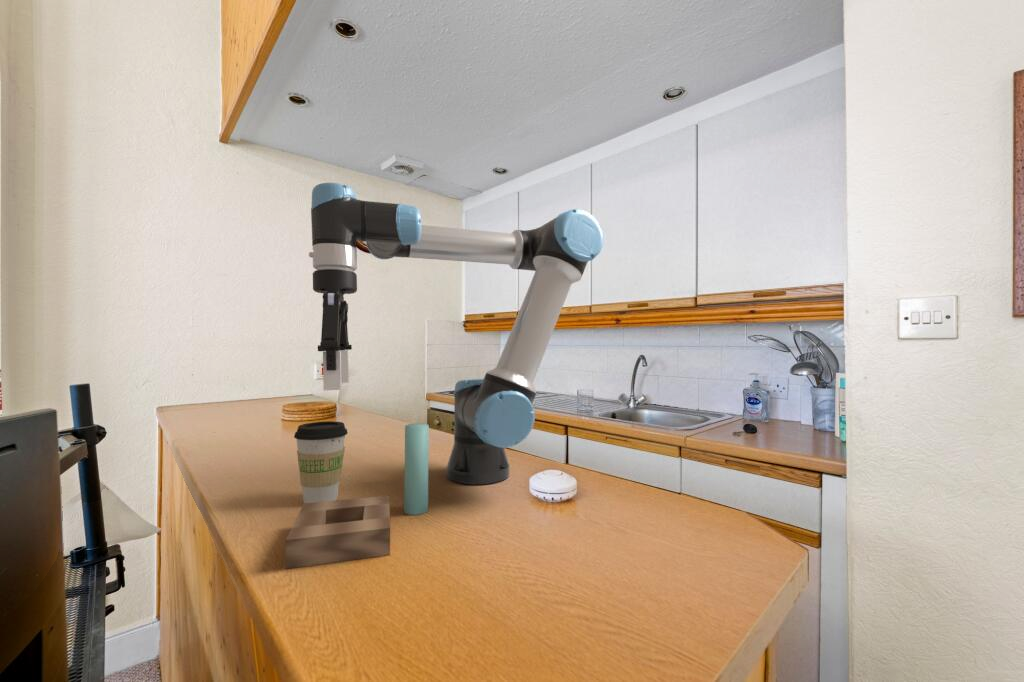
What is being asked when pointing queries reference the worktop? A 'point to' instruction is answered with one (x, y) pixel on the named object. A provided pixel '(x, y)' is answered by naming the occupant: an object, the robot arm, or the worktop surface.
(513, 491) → the worktop surface
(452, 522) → the worktop surface
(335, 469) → the coffee cup
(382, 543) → the socket block
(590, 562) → the worktop surface
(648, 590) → the worktop surface
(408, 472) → the peg
